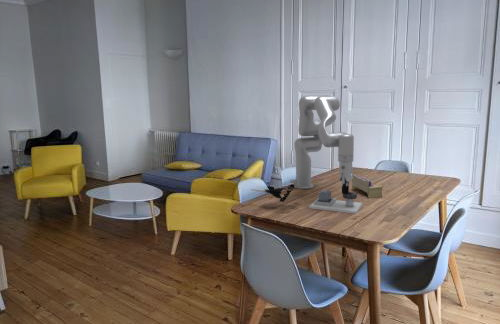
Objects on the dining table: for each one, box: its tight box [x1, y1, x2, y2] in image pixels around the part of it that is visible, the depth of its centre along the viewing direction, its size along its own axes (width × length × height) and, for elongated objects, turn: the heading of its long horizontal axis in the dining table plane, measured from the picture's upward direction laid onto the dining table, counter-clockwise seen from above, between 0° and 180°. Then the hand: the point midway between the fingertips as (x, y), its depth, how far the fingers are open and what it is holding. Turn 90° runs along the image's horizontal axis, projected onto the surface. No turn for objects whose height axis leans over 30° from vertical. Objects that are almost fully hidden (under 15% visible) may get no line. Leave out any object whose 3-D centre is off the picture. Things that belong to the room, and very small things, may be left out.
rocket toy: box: [250, 184, 295, 202], centre depth 204 cm, size 14×6×23 cm
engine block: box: [318, 189, 332, 203], centre depth 204 cm, size 5×6×7 cm
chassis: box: [308, 197, 363, 214], centre depth 202 cm, size 24×16×6 cm, turn 63°
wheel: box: [342, 191, 358, 200], centre depth 198 cm, size 7×7×2 cm
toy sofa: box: [351, 173, 383, 199], centre depth 227 cm, size 21×9×10 cm, turn 13°
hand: (345, 193), depth 199 cm, fingers closed
